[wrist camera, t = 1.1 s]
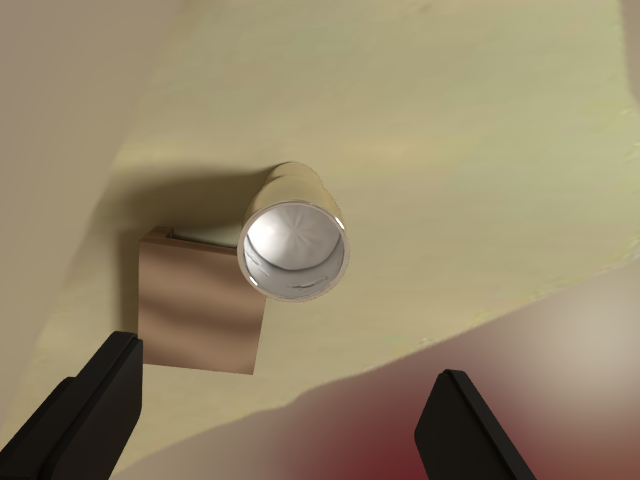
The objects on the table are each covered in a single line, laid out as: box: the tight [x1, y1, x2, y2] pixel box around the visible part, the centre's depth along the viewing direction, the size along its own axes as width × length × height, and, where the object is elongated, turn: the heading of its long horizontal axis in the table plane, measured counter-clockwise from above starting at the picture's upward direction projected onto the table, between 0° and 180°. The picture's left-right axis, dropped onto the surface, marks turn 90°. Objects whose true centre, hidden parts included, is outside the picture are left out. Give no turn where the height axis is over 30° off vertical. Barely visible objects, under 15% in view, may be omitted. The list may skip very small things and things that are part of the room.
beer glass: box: [237, 162, 350, 302], centre depth 26 cm, size 7×7×15 cm
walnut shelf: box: [138, 226, 266, 375], centre depth 34 cm, size 14×12×4 cm
